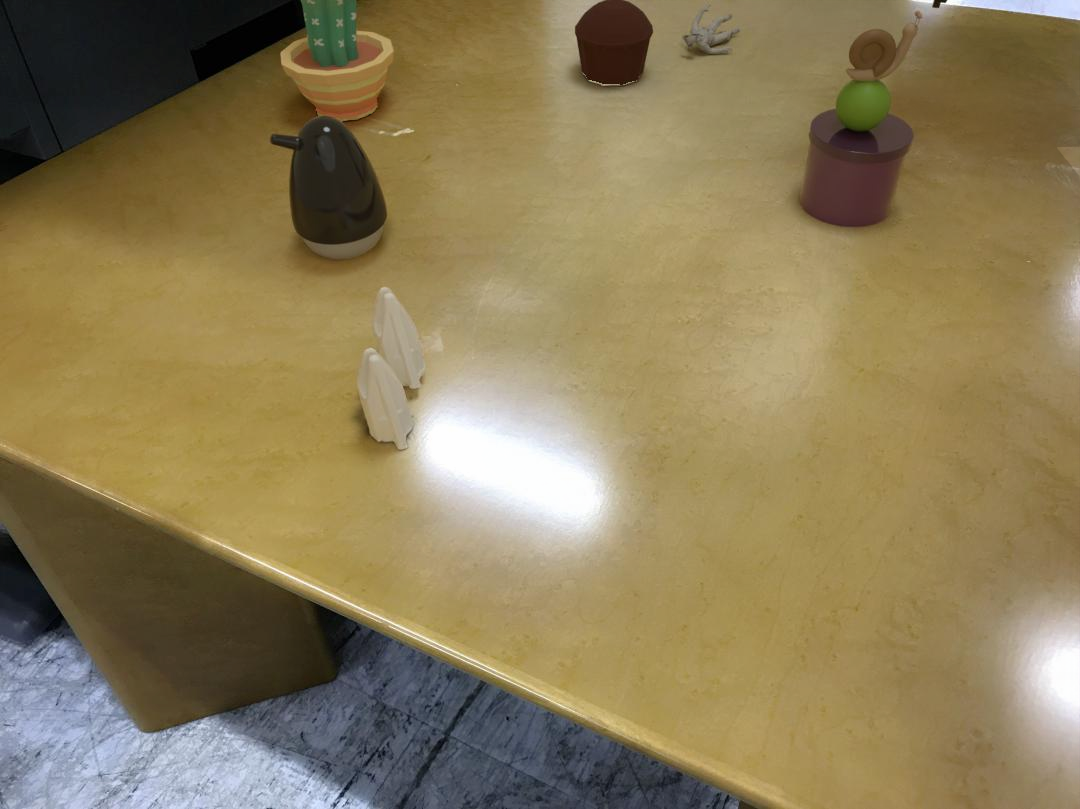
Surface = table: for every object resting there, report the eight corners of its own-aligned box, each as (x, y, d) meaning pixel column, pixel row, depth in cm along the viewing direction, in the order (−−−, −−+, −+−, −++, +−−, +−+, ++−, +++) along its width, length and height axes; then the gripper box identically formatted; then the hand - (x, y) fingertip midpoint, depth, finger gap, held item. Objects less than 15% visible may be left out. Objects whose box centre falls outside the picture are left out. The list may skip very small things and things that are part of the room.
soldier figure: (750, 46, 141) (722, 48, 131) (724, 64, 144) (695, 67, 134) (726, 2, 141) (697, 0, 131) (701, 21, 144) (671, 20, 134)
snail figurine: (899, 139, 93) (931, 22, 85) (838, 141, 93) (863, 24, 85) (884, 116, 97) (913, 1, 89) (825, 117, 97) (848, 3, 89)
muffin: (575, 58, 137) (575, -10, 130) (648, 57, 136) (652, -12, 130) (574, 92, 128) (574, 20, 121) (652, 91, 128) (656, 19, 121)
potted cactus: (408, 83, 132) (383, -107, 115) (393, 132, 121) (364, -71, 104) (304, 85, 132) (264, -104, 115) (280, 133, 121) (232, -68, 104)
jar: (883, 195, 106) (907, 109, 98) (894, 245, 98) (920, 156, 91) (791, 190, 107) (807, 104, 100) (795, 239, 100) (813, 150, 92)
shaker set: (389, 358, 86) (371, 262, 79) (432, 360, 86) (418, 263, 78) (360, 448, 78) (337, 350, 70) (408, 450, 77) (390, 352, 70)
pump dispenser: (292, 232, 103) (261, 106, 93) (381, 214, 105) (360, 89, 95) (305, 281, 96) (273, 150, 86) (400, 261, 98) (380, 131, 88)
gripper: (863, -179, 92) (826, -25, 92) (1013, -172, 88) (973, -11, 89) (858, -133, 100) (823, 10, 100) (996, -124, 96) (959, 24, 96)
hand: (894, 0), depth 94 cm, fingers open, 8 cm apart
